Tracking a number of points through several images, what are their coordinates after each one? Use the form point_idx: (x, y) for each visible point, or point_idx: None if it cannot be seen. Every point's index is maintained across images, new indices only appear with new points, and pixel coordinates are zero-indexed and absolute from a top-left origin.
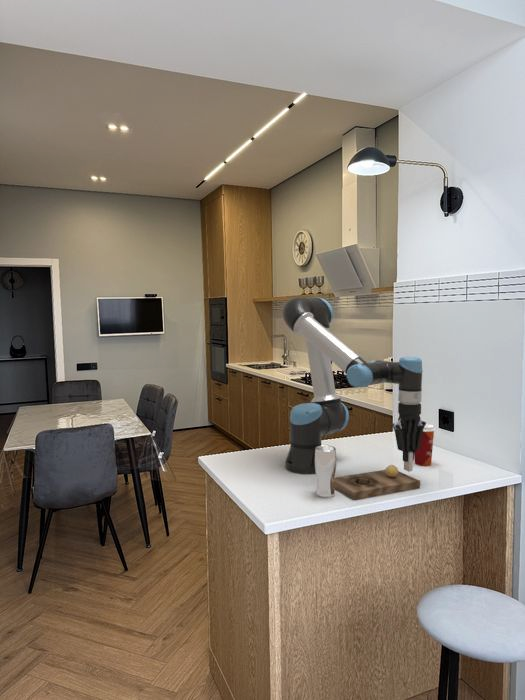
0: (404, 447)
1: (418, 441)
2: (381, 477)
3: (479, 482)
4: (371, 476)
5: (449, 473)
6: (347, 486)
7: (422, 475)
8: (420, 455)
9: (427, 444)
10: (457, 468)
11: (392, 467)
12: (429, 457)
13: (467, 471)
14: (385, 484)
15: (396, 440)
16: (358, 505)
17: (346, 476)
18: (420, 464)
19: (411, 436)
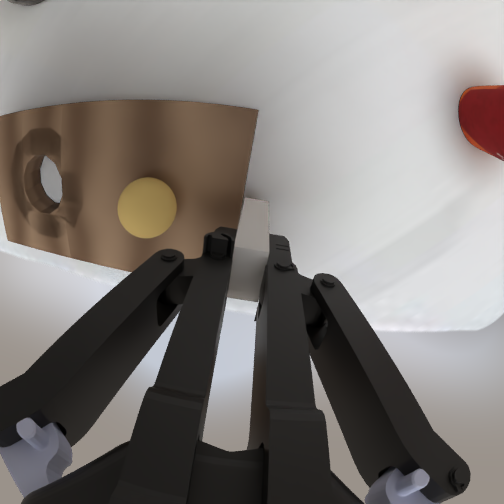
0: (169, 317)
1: (319, 365)
2: (115, 181)
3: (416, 328)
4: (89, 152)
5: (448, 241)
6: (4, 197)
7: (368, 192)
8: (486, 128)
9: None
10: (495, 229)
11: (128, 230)
12: (497, 157)
13: (484, 261)
14: (89, 246)
15: (106, 297)
16: (22, 256)
17: (28, 115)
18: (462, 122)
19: (254, 391)
